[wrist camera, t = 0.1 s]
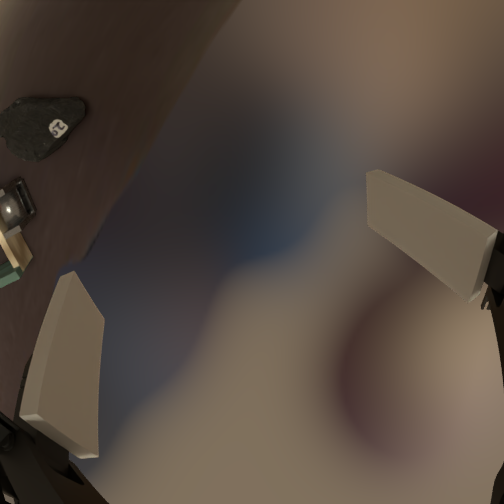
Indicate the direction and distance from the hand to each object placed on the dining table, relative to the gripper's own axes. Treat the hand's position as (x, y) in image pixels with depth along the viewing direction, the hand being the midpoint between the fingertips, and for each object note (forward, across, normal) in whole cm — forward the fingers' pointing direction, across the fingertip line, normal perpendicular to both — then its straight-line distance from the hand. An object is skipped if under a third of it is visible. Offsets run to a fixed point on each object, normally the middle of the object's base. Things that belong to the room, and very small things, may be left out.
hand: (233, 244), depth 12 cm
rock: (+28, -16, +10) cm, 34 cm away
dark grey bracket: (+28, -24, +2) cm, 37 cm away
